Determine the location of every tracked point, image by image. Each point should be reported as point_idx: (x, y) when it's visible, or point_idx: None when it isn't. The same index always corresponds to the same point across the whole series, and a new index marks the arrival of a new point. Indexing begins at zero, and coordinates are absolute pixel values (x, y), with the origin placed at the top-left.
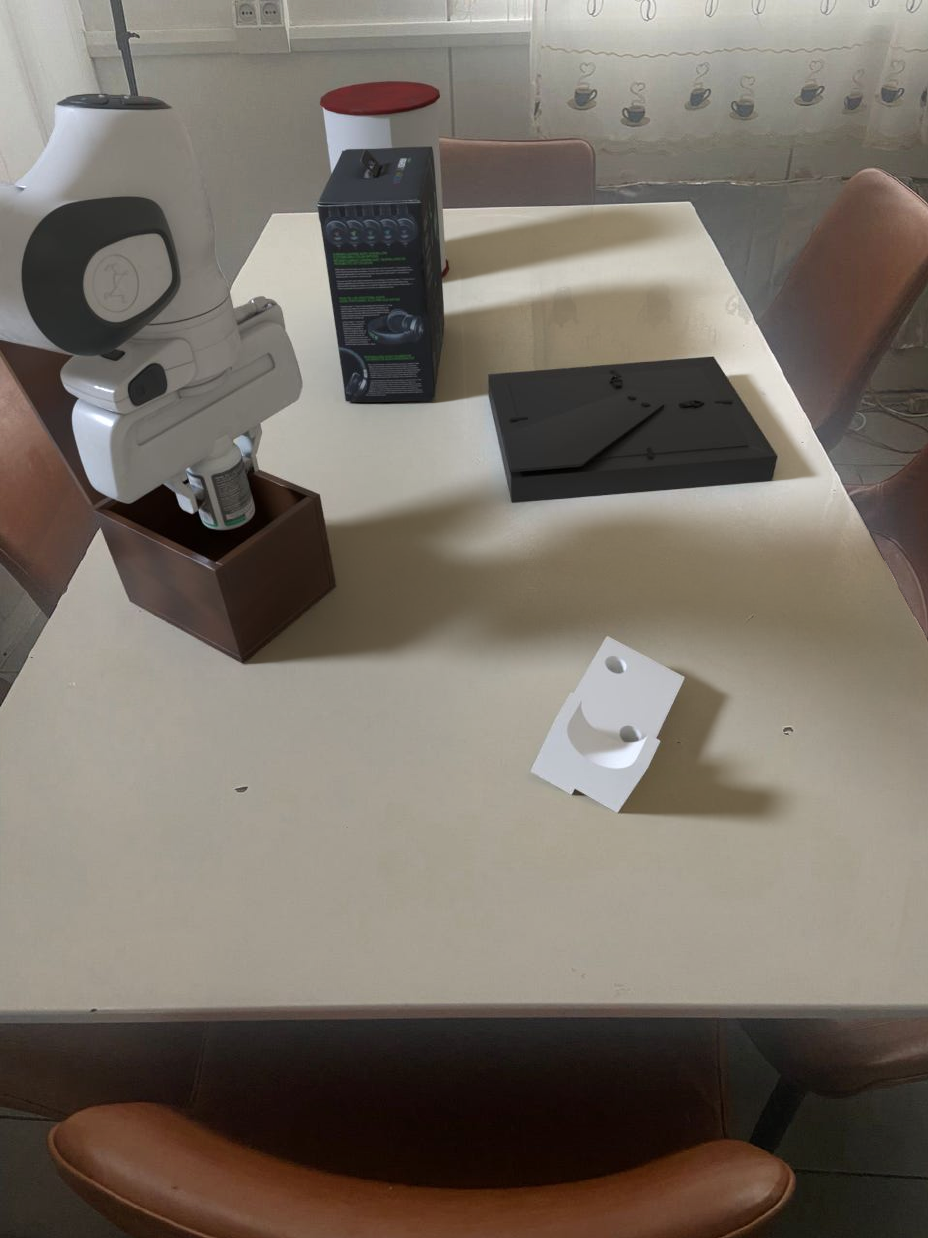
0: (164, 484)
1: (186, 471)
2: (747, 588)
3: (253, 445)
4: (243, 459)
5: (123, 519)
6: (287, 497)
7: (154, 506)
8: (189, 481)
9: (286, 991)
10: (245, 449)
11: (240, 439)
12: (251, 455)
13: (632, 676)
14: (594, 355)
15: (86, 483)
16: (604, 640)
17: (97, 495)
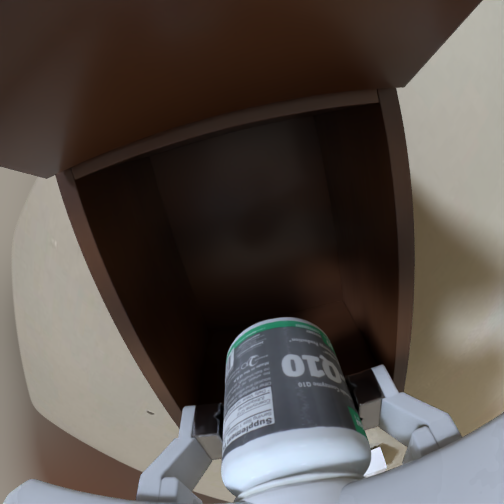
0: (154, 462)
1: (222, 455)
2: (463, 422)
3: (400, 441)
4: (366, 423)
5: (93, 248)
6: (386, 342)
7: (201, 137)
8: (224, 428)
9: (136, 467)
10: (390, 423)
11: (407, 419)
12: (383, 429)
13: (368, 476)
14: None
15: (20, 164)
16: (382, 468)
17: (52, 169)
